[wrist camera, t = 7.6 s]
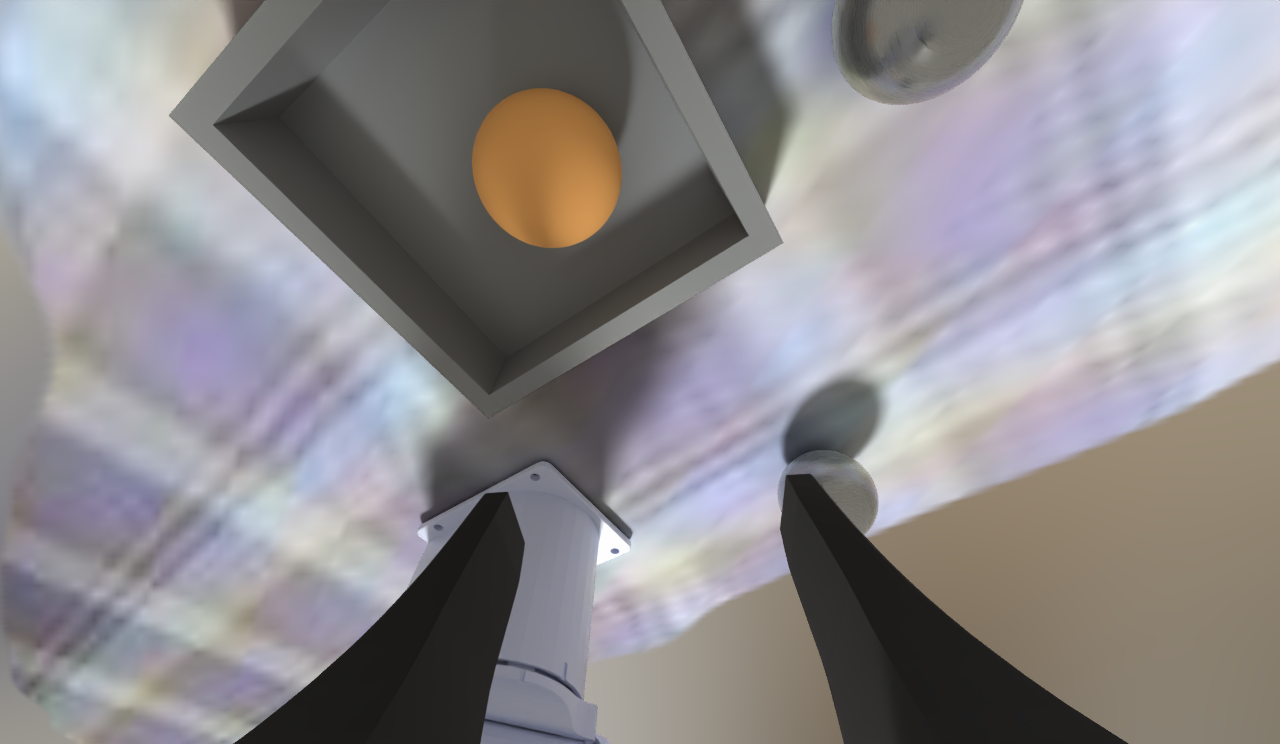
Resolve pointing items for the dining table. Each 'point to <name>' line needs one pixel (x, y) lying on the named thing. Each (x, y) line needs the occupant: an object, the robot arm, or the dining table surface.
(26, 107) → the dining table surface
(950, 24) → the steel ball
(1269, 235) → the dining table surface
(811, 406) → the dining table surface
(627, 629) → the dining table surface
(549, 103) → the orange ball
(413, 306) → the bin
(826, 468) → the steel ball
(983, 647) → the robot arm
